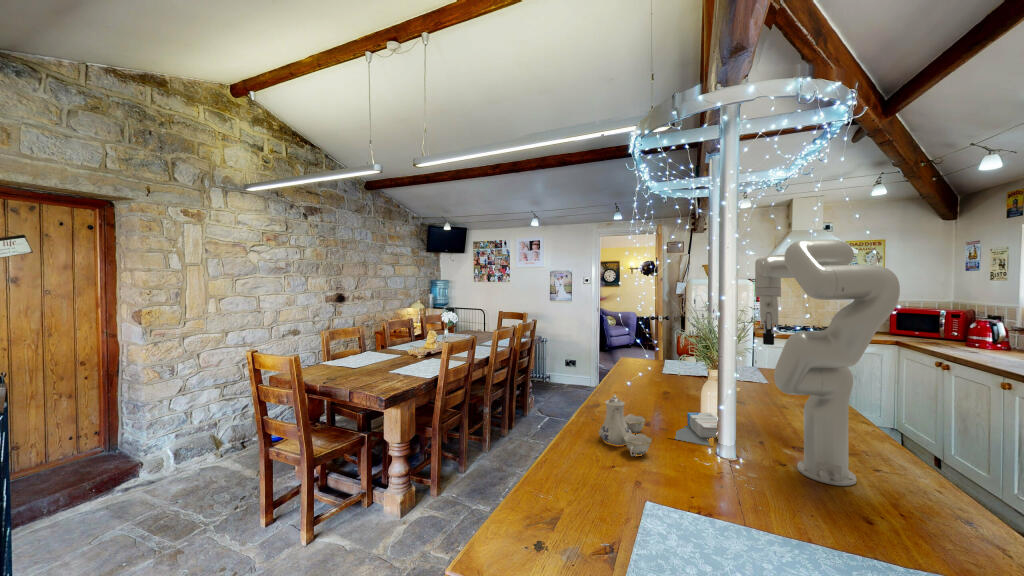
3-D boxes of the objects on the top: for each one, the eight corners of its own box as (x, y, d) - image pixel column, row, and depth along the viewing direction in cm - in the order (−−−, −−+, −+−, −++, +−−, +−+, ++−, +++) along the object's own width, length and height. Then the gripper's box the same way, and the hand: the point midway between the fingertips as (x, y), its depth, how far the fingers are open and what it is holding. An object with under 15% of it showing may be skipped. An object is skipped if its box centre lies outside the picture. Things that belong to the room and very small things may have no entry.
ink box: (687, 425, 143) (702, 441, 128) (687, 412, 143) (702, 426, 128) (711, 425, 142) (729, 442, 127) (711, 412, 142) (729, 427, 127)
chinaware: (658, 468, 115) (663, 413, 114) (601, 460, 117) (606, 406, 117) (640, 432, 143) (644, 387, 142) (595, 425, 145) (599, 382, 144)
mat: (713, 447, 125) (713, 446, 125) (667, 438, 132) (667, 437, 132) (716, 429, 139) (716, 429, 139) (675, 423, 146) (675, 422, 146)
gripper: (782, 293, 127) (783, 348, 127) (779, 291, 140) (780, 342, 140) (755, 293, 131) (756, 347, 131) (755, 291, 144) (755, 340, 144)
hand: (768, 344), depth 136 cm, fingers closed
